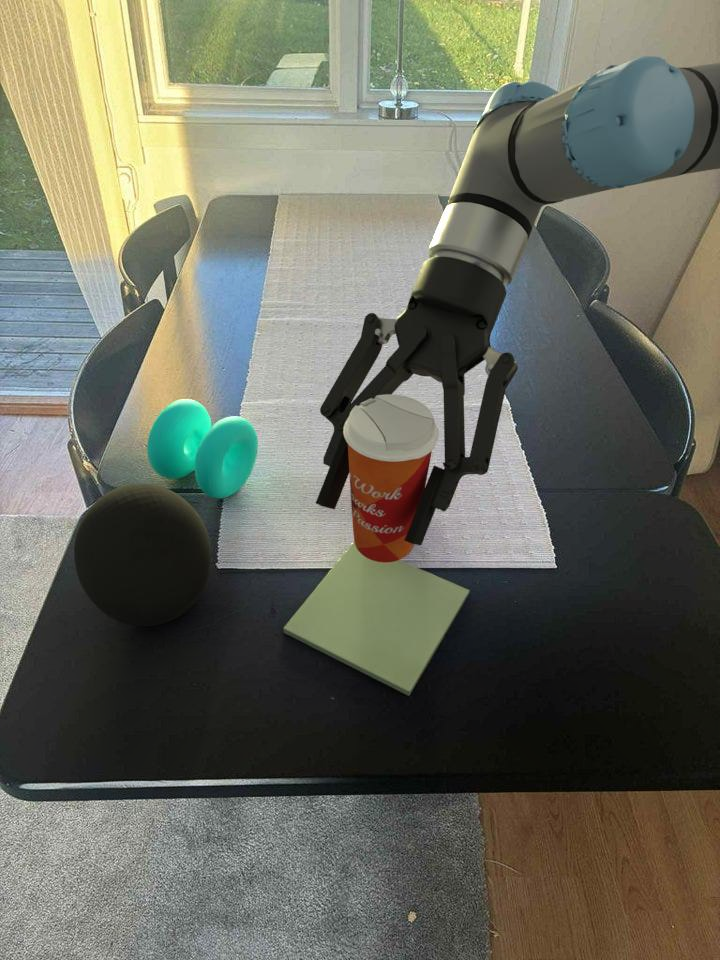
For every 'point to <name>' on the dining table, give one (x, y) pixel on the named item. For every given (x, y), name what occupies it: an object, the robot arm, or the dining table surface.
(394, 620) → the tile
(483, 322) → the robot arm
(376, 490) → the paper cup
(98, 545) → the decorative egg
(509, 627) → the dining table surface
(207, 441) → the turquoise spool
